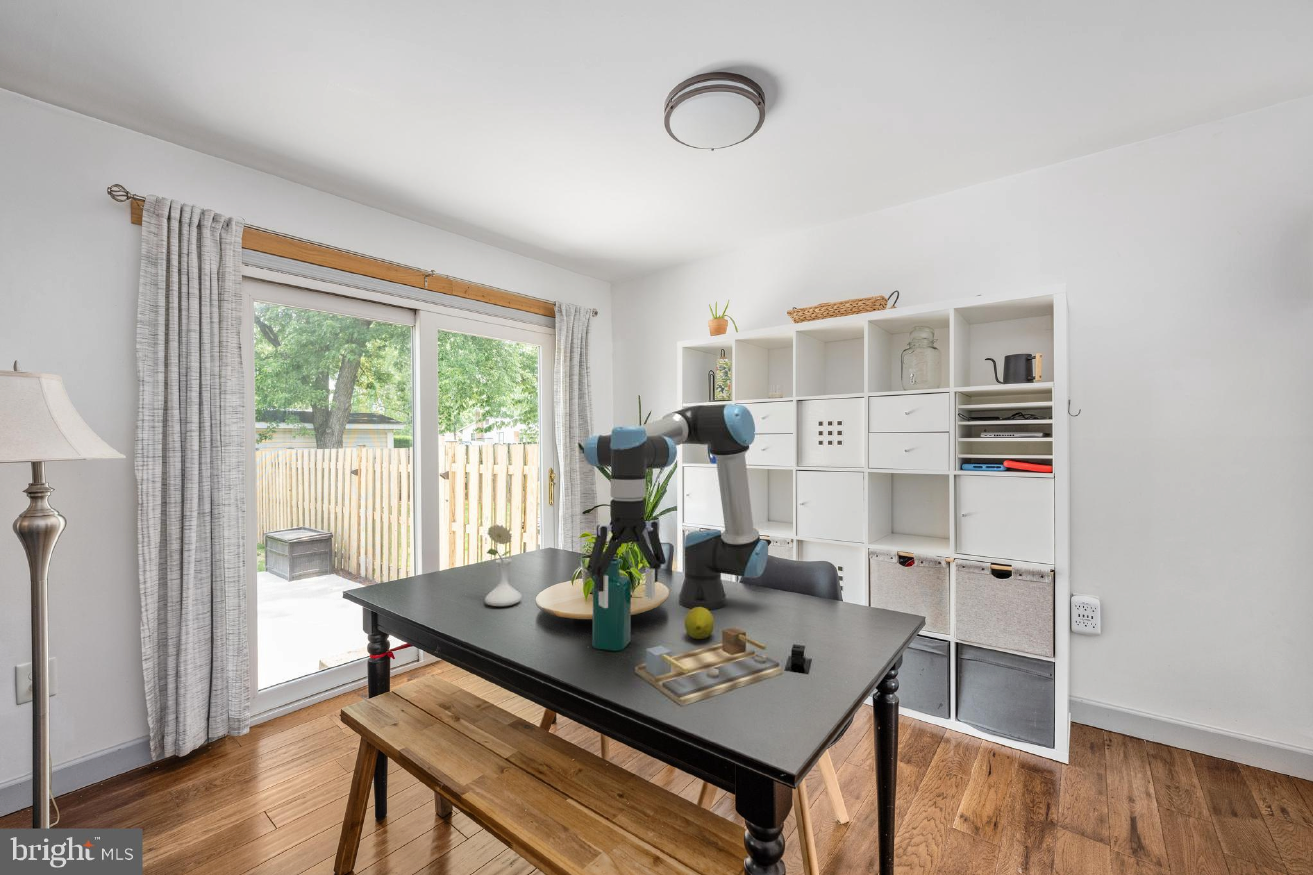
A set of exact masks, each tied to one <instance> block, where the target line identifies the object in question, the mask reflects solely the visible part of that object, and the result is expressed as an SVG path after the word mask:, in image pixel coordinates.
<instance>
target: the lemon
mask: <svg viewBox="0 0 1313 875" xmlns="http://www.w3.org/2000/svg"><path fill="white" fill-rule="evenodd" d="M714 620H715V618H714V617H713V614H712V613H711V611H710V610H709V609H708V610H707V609H705V608H703V607H695V608H690V610H689V611H688V612H687V613H686V615H685V617H684V622H683V623H684V628H685V630H686V633H687V635H688V636H690V637H691V638H693V639H696V640H704V639H706V638H708V637H709V636H711V634H712V633H713V630H714V627H715V626H714V625H715V624H714V623H715V621H714Z"/></svg>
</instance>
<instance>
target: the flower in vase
mask: <svg viewBox="0 0 1313 875" xmlns="http://www.w3.org/2000/svg"><path fill="white" fill-rule="evenodd" d="M486 534H487V536H489V538H490V539H491V540H492V541H493V542H494V543H495V544H496V545H495V549H493V548H489V549H488V550H487V552H486V554H489V555H492V556H497V555H498V557H499V559H496V560H495V563H496V564H497V567H498V570H499V581H498V584H497V585H496V587H494V588H493V589H492V590H491V591H490V592H489V593H488V594H487V595H486V596H485V598H484V602H485V604H486V605H488V606H489V605H490V606H493V607H508V606H512V605H515V604H517V603H519V602H521V600H522V598H523V596H522V594H521V593H520V592H519V591H518V590H516V589H515V588H514V587H513V586H511V585H510V583H509V582H508V572H509V571H508V570H509V566H510V563H512V561H513V560H512V559H510V558H502V557H505V556H506V555H508V554H509V553H510V552H511V550H512V549H511V550H507V551H505V552H504V553H503V554H501V555H500V553H499V551H498V545H505V544H508V543H511V540H512V538H513V536H512V533H511V530H510V529H508V527H504V525H502V524H501V525H499V524H493V525H491V526H489V527H488V530H487V533H486Z"/></svg>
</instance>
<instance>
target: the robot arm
mask: <svg viewBox="0 0 1313 875" xmlns="http://www.w3.org/2000/svg"><path fill="white" fill-rule="evenodd" d="M755 426H756V425H755V419H754V416H753V415H752V413H751V411H750V410H749V409H748V408H747V407H746V406H745V405H743V404H732V403H729V404H727V403H726V404H725V403H723V404H711V405H709V404H708V405H707V404H706V405H703V404H702V405H699V404H698V405H693V406H688V407H686V408H685V407H684V408H682V409H678V410H676V411H673V412H670V413H667V414H665V415H664V416H663V417H662V418H661V419H659V420H655V421H651V422H648V423H645V424H642V425H639V426H632V425H631V426H630V425H629V426H625V425H624V426H615V427H613V428H612V429H611V434H606V435H602V434H599V435H592V436H590V437H588V438H587V440H586V441H585V443H584V446H583V447H584V448H583V452H584V459H585V461H586V462H587V463H588V464H589V465H590V466H593V467H599V468H604V467H605V468H607V467H608V468H610V497H611V498H612V499H611V501H610V500H609V501H610V502H609V503H610V504H609V509H610V512H609V515H610V522H609V524H608V525H607V524H606V525H603V524H597V526H596V537H595V540H594V543H593V546H592V549H591V553H590V556H589V558H588V562H587V567H586V572H587V573H589V574H590V573H592V574H595V588H596V590H597V591H599V605H600V606H601V607H603V608H608V576H607V575H605V573H606V571H607V569H608V567H609V565H610V563H611V561H612V560H613V558H615V556H616V554H617V552H618V550H619V549H620V548H621V547H622V545H624V544H629V543H635V544H636V545H637V547H638V549H639V550H640V553H641V554H642V556H643V558H644V559H645V561H646V563H647V564H648V566H646V567H645V572H644V573H645V578H644V581H645V582H644V583H645V584H644V586H645V590H644V598H645V597H646V598H647V599H650V600H655V598H656V597H655V596H656V593H655V592H656V590H655V589H656V587H655V586H656V583H658V581H659V580H658V579H659V578H658V575H659V574H658V573H659V572H658V571H659V569H661V567H662V565H665V564H666V562H667V561H666V557H665V554H664V549H663V547H662V541H661V539H660V536H659V533H658V528H659V526H658V522H657V521H656V520H650V519H649V520H647V521H646V519H645V517H646V512H647V511H646V509H647V508H646V506H647V505H646V500H645V499H644V498H646V496H647V490H646V489H647V488H646V486H647V484H646V483H647V482H646V481H647V479H646V478H647V477H646V476H647V475H646V474H647V472H646V471H647V470H653V469H654V470H656V469H659V470H662V469H665V468H668V467H670V466H672V465H673V463H675V461H676V459H677V454H678V451H677V446H680V445H684V444H685V445H705V446H706V445H707V446H708V450H709V454H710V455H711V456H713V457H714V458H715V462H716V471H717V478H718V486H719V493H720V500H721V509H722V515H723V523H724V531H723V532H722V531H721V529H701V530H695V531H691V532H688V533H687V534H686V535H685V538H684V579H683V583H682V586H681V589H680V592H679V595H678V603H679V604H680V605H681V606H682V607H686V608H689V609H693V608H695V607H703V608H705V609H707V610H708V611H709V610H717V609H720V608H723V607H725V606H726V605H727V594H726V593H725V592H726V591H725V589H724V585H723V582H722V574H723V575H732V576H738V577H742V578H750V579H751V578H753V579H757V578H760V577H761V575H762V574H763V572H764V570H765V568H766V565H767V562H768V557H769V546H768V545H769V544H768V542H767V541H766V540H764V539H761V538H760V532H759V530H758V529H757V528H756V527H755V526H754V521H753V513H752V503H751V496H750V487H749V478H748V469H747V462H746V460H747V459H746V453H747V452H748V451H749V450H750V446H751V445H752V444H753V442H754V441H755V438H756V435H755V432H756V427H755ZM644 531H646V533H647V536H648V539H649V544H650V546H651V548H650V546H649V545H648V543H647V540H646V536H644V534H643V533H644ZM610 533H611V534H612V535H611V537H610V538H609V541H608V544H607V546H606V543H607V539H608V536H609V535H610ZM605 546H606V548H605Z"/></svg>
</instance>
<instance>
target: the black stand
mask: <svg viewBox="0 0 1313 875" xmlns="http://www.w3.org/2000/svg"><path fill="white" fill-rule="evenodd" d="M806 648H807V647H806V645H801V644H794V643H793V644H792V647H791V654H790V655H788V658H787V660H786V664H785V666H784V669H783V670H784V671H785V672H789V673H797V674H803V675H809V674H810V669H811V665H812V661H813V658H808V657H806V656H807V655H806Z"/></svg>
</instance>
